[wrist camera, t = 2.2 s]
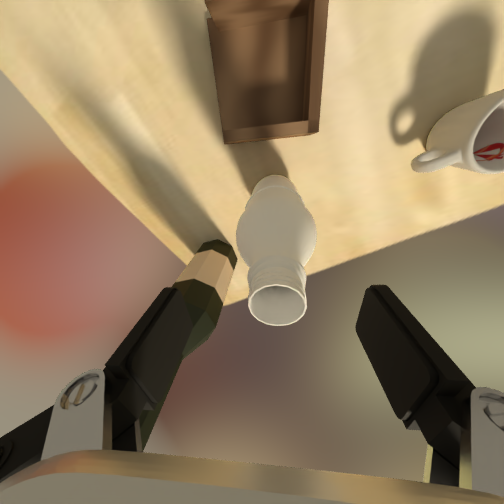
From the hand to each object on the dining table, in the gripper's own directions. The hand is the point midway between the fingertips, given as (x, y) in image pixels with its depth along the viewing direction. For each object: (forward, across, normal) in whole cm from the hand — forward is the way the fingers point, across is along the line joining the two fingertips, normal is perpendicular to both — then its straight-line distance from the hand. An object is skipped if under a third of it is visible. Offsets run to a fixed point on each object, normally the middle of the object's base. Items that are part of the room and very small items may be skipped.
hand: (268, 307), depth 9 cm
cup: (+25, -24, -6) cm, 35 cm away
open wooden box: (+25, 0, -15) cm, 29 cm away
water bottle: (+25, -1, 0) cm, 25 cm away
